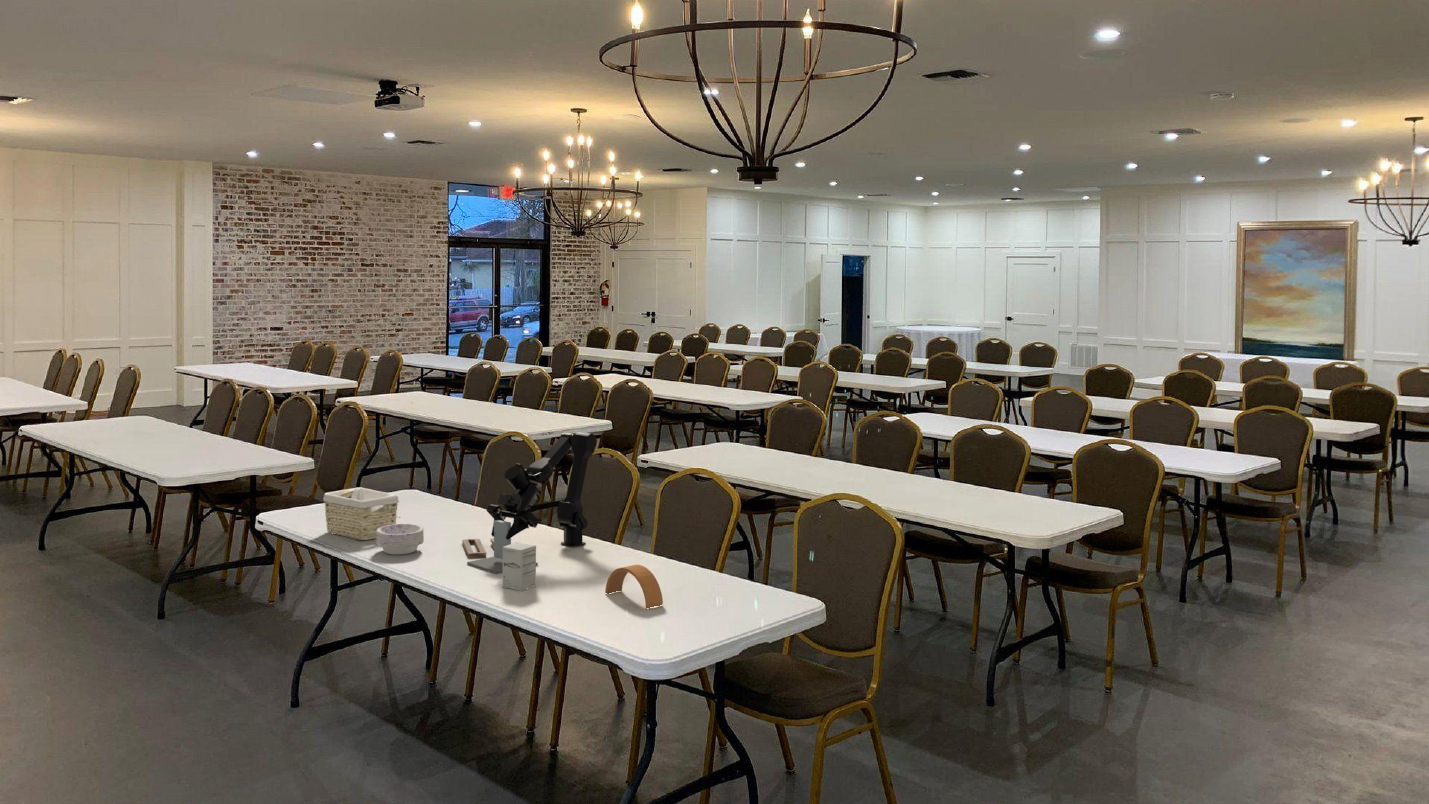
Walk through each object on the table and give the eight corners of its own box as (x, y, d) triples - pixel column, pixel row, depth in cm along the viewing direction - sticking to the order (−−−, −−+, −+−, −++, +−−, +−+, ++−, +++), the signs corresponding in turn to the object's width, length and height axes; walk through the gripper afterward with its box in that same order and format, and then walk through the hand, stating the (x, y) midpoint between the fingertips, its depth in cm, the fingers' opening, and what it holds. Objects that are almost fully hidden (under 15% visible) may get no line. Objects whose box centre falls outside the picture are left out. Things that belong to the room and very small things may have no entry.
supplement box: (501, 588, 323) (501, 546, 322) (517, 582, 330) (517, 541, 328) (521, 591, 320) (521, 549, 318) (536, 585, 326) (536, 544, 325)
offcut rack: (504, 541, 380) (504, 532, 380) (512, 555, 361) (512, 545, 361) (462, 543, 375) (462, 534, 375) (468, 558, 356) (468, 548, 356)
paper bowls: (395, 559, 353) (395, 536, 352) (367, 552, 362) (366, 528, 361) (433, 551, 365) (433, 528, 364) (405, 543, 374) (404, 521, 373)
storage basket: (321, 532, 388) (321, 492, 387) (361, 525, 401) (360, 485, 400) (361, 543, 374) (361, 501, 372) (401, 535, 387) (400, 494, 385)
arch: (621, 591, 323) (621, 558, 322) (663, 607, 308) (663, 572, 307) (605, 594, 319) (605, 561, 318) (647, 610, 304) (647, 576, 303)
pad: (537, 565, 349) (537, 562, 349) (496, 574, 338) (496, 571, 338) (508, 556, 360) (508, 553, 360) (467, 564, 349) (467, 562, 349)
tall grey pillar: (497, 556, 351) (497, 519, 350) (511, 559, 348) (510, 522, 346) (494, 557, 350) (493, 520, 348) (507, 560, 346) (507, 523, 345)
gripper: (490, 480, 354) (465, 519, 347) (532, 486, 344) (507, 527, 336) (507, 499, 362) (483, 538, 354) (549, 507, 352) (525, 547, 344)
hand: (499, 537), depth 347 cm, fingers closed on tall grey pillar, 6 cm apart
